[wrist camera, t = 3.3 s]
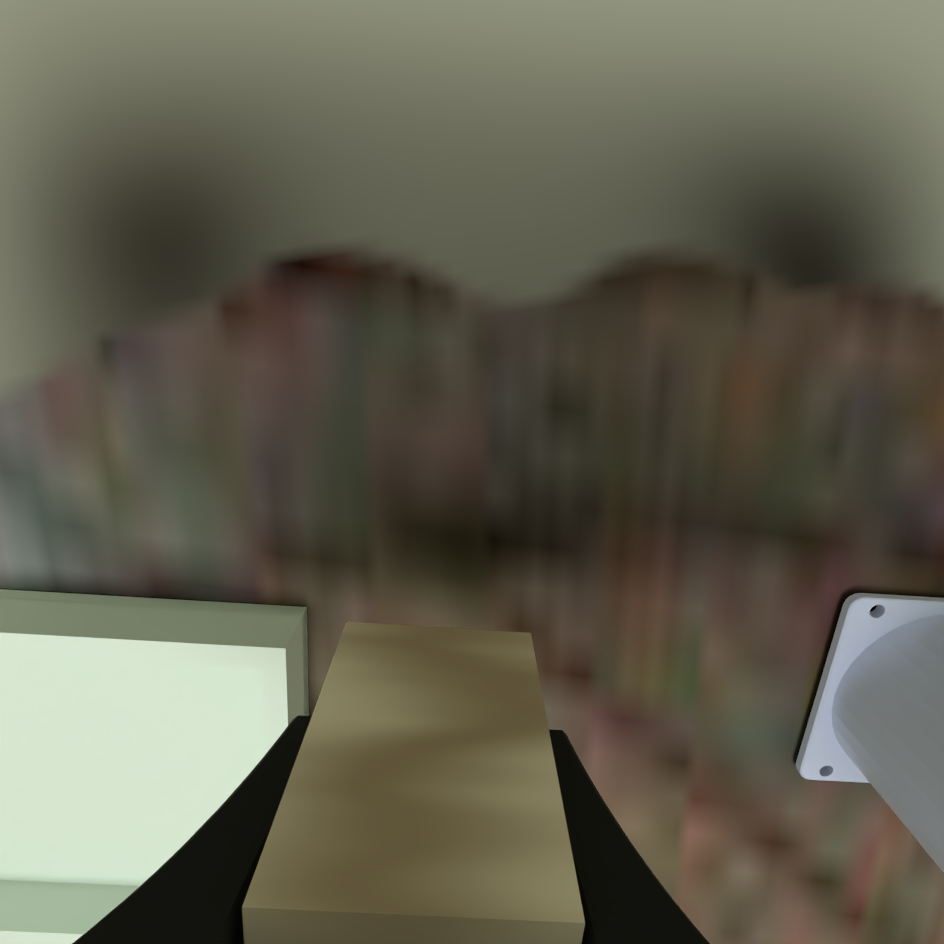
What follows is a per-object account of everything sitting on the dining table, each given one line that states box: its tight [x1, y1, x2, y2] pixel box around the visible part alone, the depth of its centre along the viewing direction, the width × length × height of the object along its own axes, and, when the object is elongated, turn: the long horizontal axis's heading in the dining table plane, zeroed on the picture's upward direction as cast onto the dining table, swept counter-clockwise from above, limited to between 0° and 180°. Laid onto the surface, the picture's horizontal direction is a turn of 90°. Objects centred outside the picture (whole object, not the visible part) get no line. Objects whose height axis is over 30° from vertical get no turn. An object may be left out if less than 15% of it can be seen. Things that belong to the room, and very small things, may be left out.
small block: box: [242, 622, 585, 944], centre depth 10 cm, size 4×4×6 cm
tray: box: [0, 589, 309, 944], centre depth 21 cm, size 16×14×2 cm
